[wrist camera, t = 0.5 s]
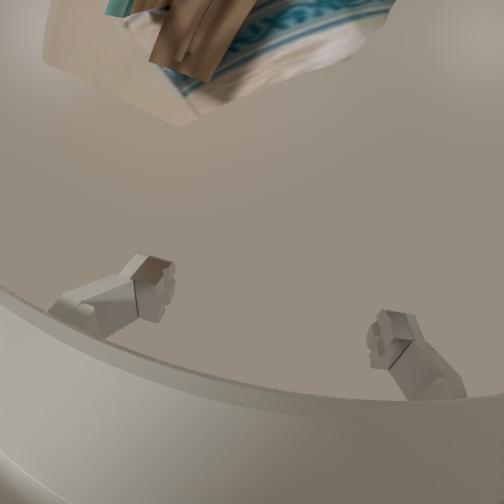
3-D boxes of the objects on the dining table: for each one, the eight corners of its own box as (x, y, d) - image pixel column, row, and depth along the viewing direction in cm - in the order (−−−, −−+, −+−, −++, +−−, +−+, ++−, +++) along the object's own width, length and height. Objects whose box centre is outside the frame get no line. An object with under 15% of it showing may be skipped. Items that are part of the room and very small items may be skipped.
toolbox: (134, 42, 41) (105, 57, 35) (182, -61, 21) (156, -69, 14) (217, 72, 48) (202, 91, 41) (283, -30, 27) (279, -36, 21)
